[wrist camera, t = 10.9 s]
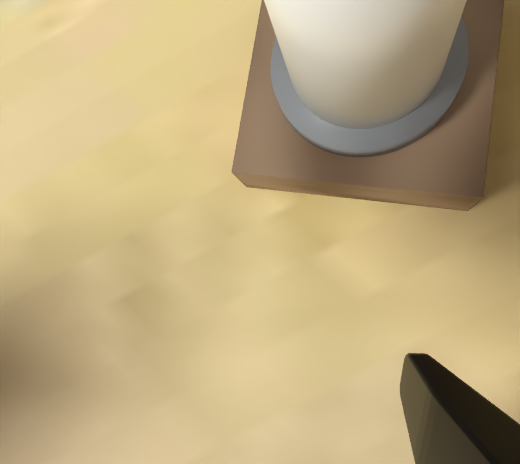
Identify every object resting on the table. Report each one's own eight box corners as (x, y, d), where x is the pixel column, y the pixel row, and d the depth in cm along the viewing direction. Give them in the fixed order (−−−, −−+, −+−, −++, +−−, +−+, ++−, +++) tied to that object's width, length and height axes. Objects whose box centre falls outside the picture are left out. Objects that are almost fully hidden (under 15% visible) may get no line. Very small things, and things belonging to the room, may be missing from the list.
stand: (491, -3, 20) (508, -45, 17) (467, 210, 19) (482, 197, 16) (279, -1, 22) (268, -38, 20) (246, 186, 21) (231, 172, 19)
